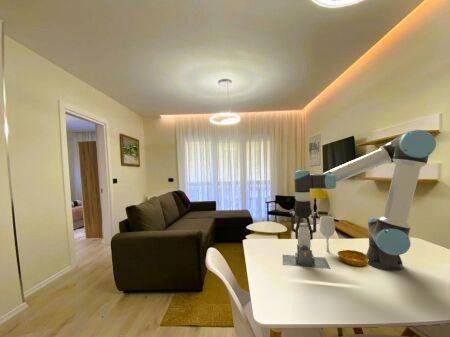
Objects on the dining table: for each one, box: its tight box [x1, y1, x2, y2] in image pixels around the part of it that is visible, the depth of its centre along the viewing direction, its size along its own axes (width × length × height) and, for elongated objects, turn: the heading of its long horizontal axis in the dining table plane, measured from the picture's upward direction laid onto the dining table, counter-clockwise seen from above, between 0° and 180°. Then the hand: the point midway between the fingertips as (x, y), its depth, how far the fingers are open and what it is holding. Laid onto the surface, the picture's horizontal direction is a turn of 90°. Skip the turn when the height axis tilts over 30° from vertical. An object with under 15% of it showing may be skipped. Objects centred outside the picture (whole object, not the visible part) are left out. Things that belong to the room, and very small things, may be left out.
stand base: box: [282, 243, 331, 270], centre depth 113 cm, size 22×14×10 cm, turn 76°
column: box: [298, 222, 310, 250], centre depth 112 cm, size 5×5×19 cm
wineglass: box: [318, 215, 336, 254], centre depth 125 cm, size 9×9×21 cm
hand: (304, 245), depth 113 cm, fingers closed on column, 4 cm apart
